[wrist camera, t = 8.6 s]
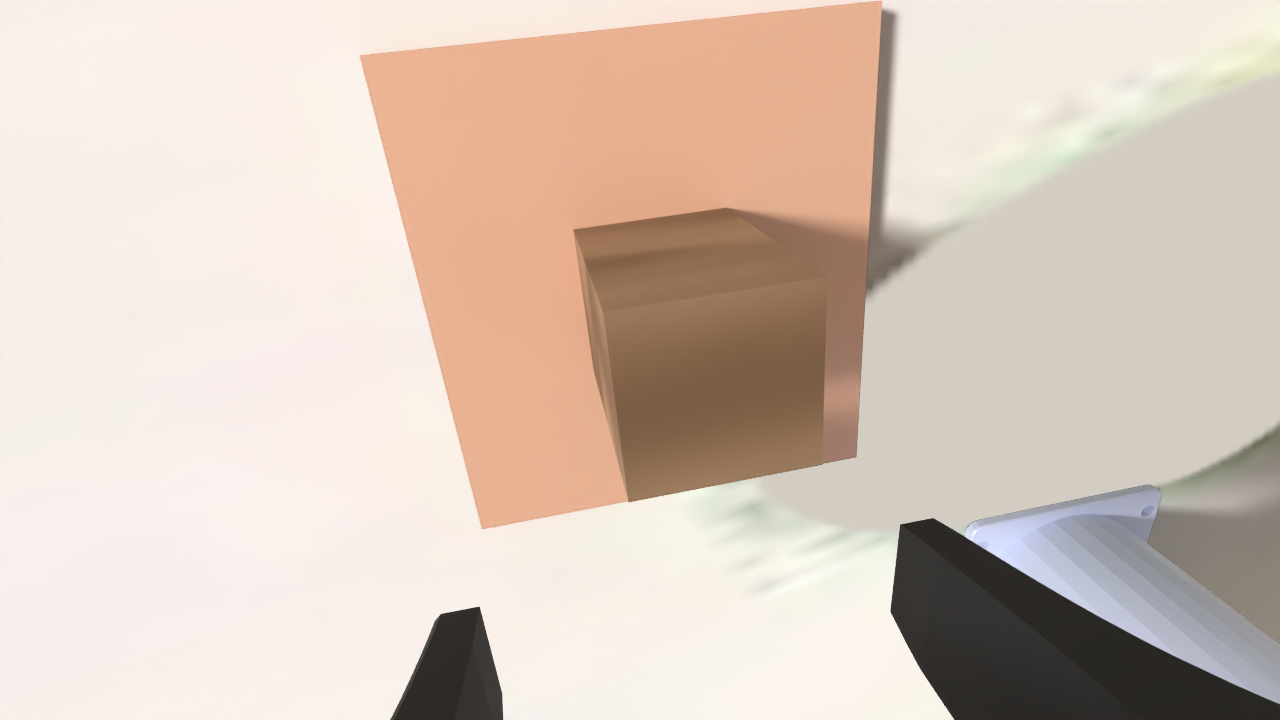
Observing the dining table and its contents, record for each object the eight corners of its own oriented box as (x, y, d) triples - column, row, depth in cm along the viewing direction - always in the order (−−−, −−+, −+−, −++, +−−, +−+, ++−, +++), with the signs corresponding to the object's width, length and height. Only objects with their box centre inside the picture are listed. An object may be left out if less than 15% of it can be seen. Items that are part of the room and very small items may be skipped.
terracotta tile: (842, 440, 22) (856, 457, 21) (483, 508, 20) (482, 529, 20) (861, 3, 16) (882, 0, 15) (368, 55, 15) (359, 55, 14)
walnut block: (732, 347, 19) (822, 464, 13) (593, 370, 18) (628, 502, 13) (726, 207, 17) (826, 277, 11) (573, 229, 16) (603, 312, 11)
